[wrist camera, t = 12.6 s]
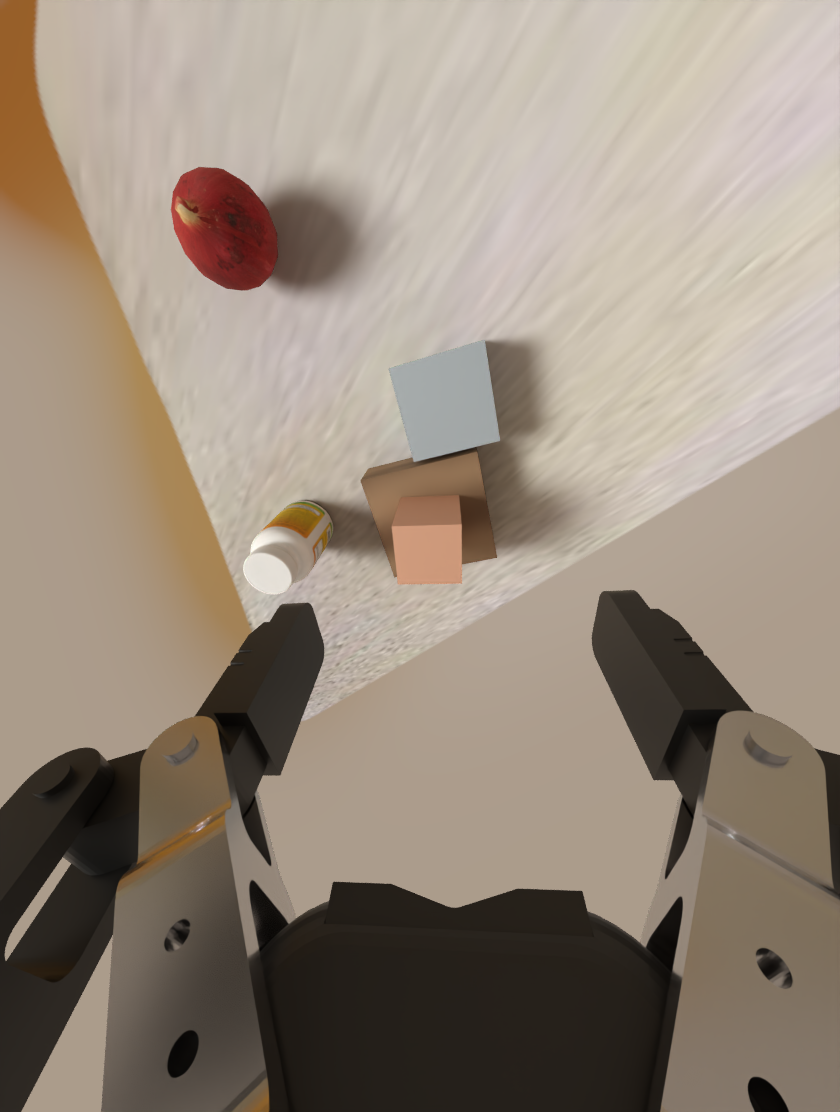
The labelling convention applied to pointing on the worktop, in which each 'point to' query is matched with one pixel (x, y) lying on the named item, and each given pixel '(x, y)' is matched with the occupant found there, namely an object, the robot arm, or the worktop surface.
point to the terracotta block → (428, 540)
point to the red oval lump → (224, 228)
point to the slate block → (446, 401)
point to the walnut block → (433, 479)
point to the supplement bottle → (288, 547)
